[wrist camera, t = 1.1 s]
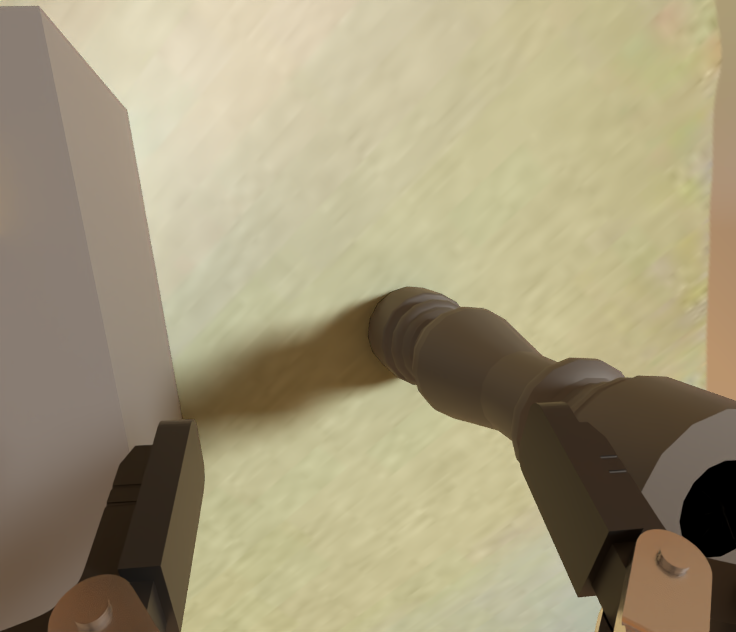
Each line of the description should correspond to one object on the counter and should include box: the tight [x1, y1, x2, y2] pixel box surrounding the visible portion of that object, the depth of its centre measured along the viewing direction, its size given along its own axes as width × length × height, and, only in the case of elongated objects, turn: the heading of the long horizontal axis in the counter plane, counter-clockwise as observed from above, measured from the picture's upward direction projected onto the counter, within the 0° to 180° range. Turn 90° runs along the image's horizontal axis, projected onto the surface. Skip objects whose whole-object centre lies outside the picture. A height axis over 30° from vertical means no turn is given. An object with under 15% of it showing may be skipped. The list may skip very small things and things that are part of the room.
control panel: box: [0, 6, 183, 631], centre depth 24 cm, size 8×22×17 cm, turn 6°
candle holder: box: [368, 287, 736, 564], centre depth 26 cm, size 6×6×25 cm
